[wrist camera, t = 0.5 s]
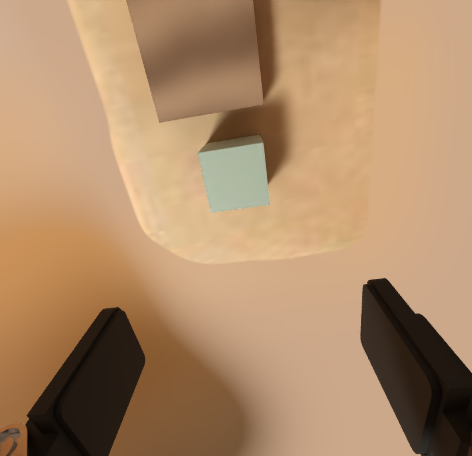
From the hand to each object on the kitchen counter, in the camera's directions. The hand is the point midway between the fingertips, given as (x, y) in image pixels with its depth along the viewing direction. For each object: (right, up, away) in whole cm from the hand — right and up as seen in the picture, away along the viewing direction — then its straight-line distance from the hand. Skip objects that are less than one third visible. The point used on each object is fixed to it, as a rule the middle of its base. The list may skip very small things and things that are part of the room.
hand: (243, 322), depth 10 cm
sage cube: (0, +11, +20) cm, 23 cm away
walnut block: (-3, +21, +15) cm, 26 cm away
